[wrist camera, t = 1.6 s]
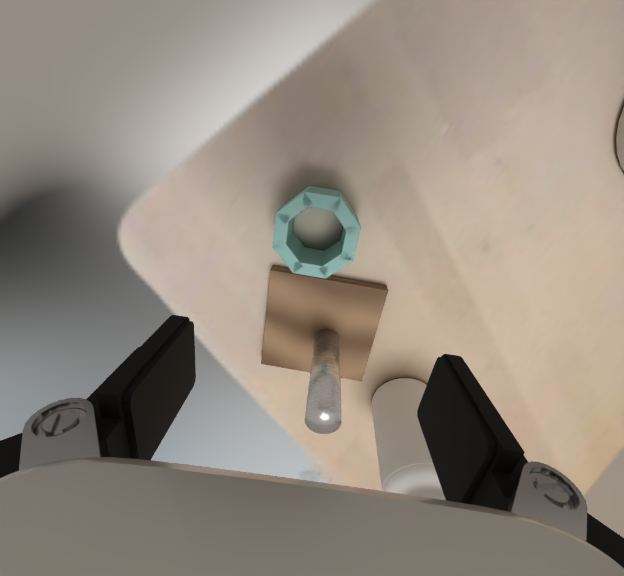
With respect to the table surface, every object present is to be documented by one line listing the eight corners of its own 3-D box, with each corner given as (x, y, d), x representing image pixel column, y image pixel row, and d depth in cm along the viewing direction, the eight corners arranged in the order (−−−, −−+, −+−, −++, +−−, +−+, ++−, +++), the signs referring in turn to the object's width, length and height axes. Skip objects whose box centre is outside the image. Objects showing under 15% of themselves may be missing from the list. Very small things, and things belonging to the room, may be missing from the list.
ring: (287, 181, 27) (278, 186, 23) (362, 194, 27) (366, 202, 23) (279, 253, 30) (270, 269, 26) (346, 264, 30) (348, 282, 26)
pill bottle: (358, 391, 37) (371, 529, 24) (418, 366, 35) (471, 503, 21) (387, 430, 40) (415, 576, 26) (445, 409, 37) (508, 557, 24)
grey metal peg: (316, 326, 32) (307, 404, 22) (341, 330, 32) (344, 411, 22) (312, 347, 33) (302, 430, 23) (337, 351, 33) (337, 436, 23)
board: (272, 266, 31) (270, 270, 30) (386, 285, 31) (388, 290, 30) (263, 357, 36) (261, 363, 35) (360, 374, 36) (361, 381, 35)
